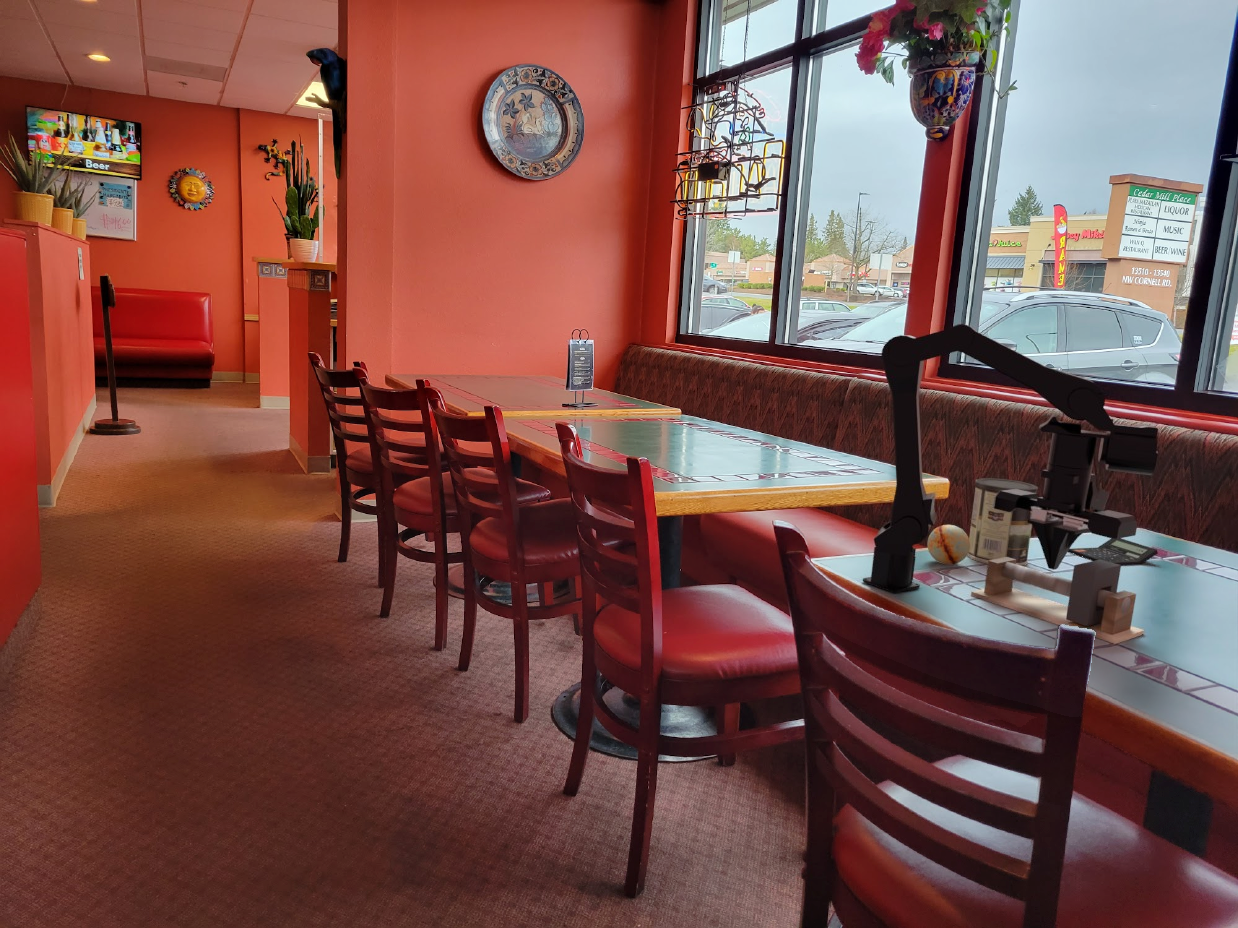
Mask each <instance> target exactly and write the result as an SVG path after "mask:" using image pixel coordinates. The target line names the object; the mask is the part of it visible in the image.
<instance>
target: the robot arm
mask: <svg viewBox="0 0 1238 928" xmlns="http://www.w3.org/2000/svg"><path fill="white" fill-rule="evenodd" d="M955 352H960V353H963V354H965V355H966V356H968V357H970V358H972V359H974V360H976V361H978V362H980V363H981V364H984V365H986V366H988V367H990V368H991V369H993V370H995V371H997V372H999V373H1001V374H1003V375H1005V376H1006V377H1008V378H1010V379H1012V380H1014V381H1017V382H1018V383H1020V384H1022V385H1024V386H1026V387H1027V388H1030V389H1031V390H1032V391H1034V392H1036V394H1038V395H1039V396H1040V397H1041V398H1042V399H1044V400H1045V401H1047V402H1048V403H1049V404H1051V405H1052V406H1053V407H1054V408H1055V409H1057V410H1058V411H1060V412H1061V413H1062V414H1064V415H1065V416H1066V417H1067V418H1070V419H1071V420H1074V421H1079V422H1084V421H1086V422H1088V423H1089V424H1090V425H1091V426H1093V427H1094V428H1095V429H1096V430H1098V431H1091V430H1084V429H1082V424H1081V423H1078V422H1070V421H1069V422H1068V421H1060V420H1058V419H1057V416H1056V415H1054V414H1053V415H1051V416H1050V418H1049V419H1048V420H1046V421H1045V422H1043V423H1041V424H1040V425H1039V426H1038V427H1039V428H1038V429H1039V431H1040V432H1042V433H1050V434H1051V433H1052V434H1051V435H1052V436H1051V441H1050V449H1049V454H1048V460H1047V461H1048V462H1047V467H1046V469H1042V470H1041V474H1040V477H1041V478H1044V486H1043V491H1042V496H1040V497H1039V496H1038V494H1037V493H1032V492H1028V491H1023V490H1019V489H1011V490H1002V491H999V492H998V493H997V494H996V496H995V497H994V504H993V508H994V509H998V510H1002V511H1006V512H1013V511H1014V510H1015V509H1017V508H1021V509H1025V510H1029V511H1031V517H1030V519H1027V523H1030V524H1032V528H1033V530H1034V533H1035V535H1036V536H1037V539H1038V541H1039V543H1040V546H1041V550H1042V552H1043V556H1044V559H1045V562H1046V565H1047V567H1048V569H1050V570H1055V571H1056V570H1058V569H1059V567H1060V565H1061V564H1062V561H1063V560H1064V558H1065V557H1066V555H1067V553H1069V552H1068V550H1069V549H1071V547H1072V545H1074V543H1075V542H1076V541H1077V539H1078V538H1079V537H1080V536H1082V535H1083V534H1085V533H1091V534H1093V535H1097V536H1101V537H1104V538H1107V539H1108V538H1109V539H1111V538H1114V539H1119V538H1121V539H1124V538H1129V537H1135V536H1136V534H1137V528H1138V522H1137V520H1136V517H1135V516H1134V514H1133V515H1131V514H1129V513H1124V512H1118V511H1116V510H1115V511H1114V510H1111V509H1110V510H1109V509H1107V510H1105V508H1106V505H1107V502H1108V499H1109V496H1110V493H1109V492H1108V491H1106V490H1104V489H1103V488H1102V487H1099V486H1097V485H1096V480H1097V478H1096V474H1095V473H1092V470H1093V463H1094V458H1095V452H1096V445H1097V441H1098V439H1100V444H1099V448H1098V458H1097V459H1098V462H1099V463H1104V465H1105V470H1106V471H1113V472H1122V473H1129V474H1138V475H1146V476H1147V475H1148V476H1153V474H1154V472H1155V469H1156V467H1157V466H1156V465H1157V462H1158V456H1159V451H1158V433H1159V428H1158V427H1157V426H1155V425H1154V426H1153V425H1130V424H1129V425H1128V424H1120V423H1114V418H1113V417H1112V416H1111V415H1109V414H1108V412H1107V411H1106V409H1105V408H1104V406H1105V405H1106V396H1105V393H1104V390H1103V388H1102V387H1101V386H1099V385H1098V384H1097V383H1096V382H1094V381H1092V380H1090V379H1088V378H1085V377H1082V376H1078V375H1076V374H1072V373H1069V372H1066V371H1063V370H1059V369H1055V368H1052V367H1049V366H1046V365H1043V364H1042V363H1039V362H1038V361H1035V360H1034V359H1032V358H1029V357H1028V356H1026V355H1024V354H1022V353H1020V352H1018V351H1015V350H1014V349H1012V348H1010V347H1009V346H1007V345H1004V344H1002V343H1000V342H998V341H996V340H994V338H991V337H989V336H987V335H984V334H982V333H981V332H979V331H977V330H976V329H974V328H973V327H972V326H971V325H968V324H966V323H959V324H956V325H952V327H950V328H946V329H943V330H940V331H937V332H932V333H929V334H925V335H921V336H918V337H915V336H912V335H910V334H909V335H908V334H907V335H906V334H903V335H901V334H900V335H897V336H893V337H891V338H890V339H889V340H887V342H886V343H885V344H884V345H883V348H882V350H881V354H880V355H881V361H882V365H883V370H884V374H885V378H886V382H887V384H888V387H889V390H890V394H891V397H892V400H891V401H892V417H893V436H894V437H893V438H894V460H895V481H896V485H895V486H896V487H895V490H894V491H895V492H894V498H893V503H892V507H891V516H890V521H888V522H887V523H886V524H884V525H882V527H881V528H880V529H879V531H878V532H877V534H876V535H875V537H874V539H873V541H874V542H873V543H874V545H875V546H874V548H873V557H872V566H871V575H870V576H869V577H863V578H862V582H863V583H866V584H869V585H871V586H874V587H877V588H880V589H882V590H884V591H888V592H891V593H895V594H896V593H901V592H906V591H910V590H915V589H920V585H921V584H919V583H916V582H914V575H915V572H914V571H915V564H916V550H917V548H916V547H914V546H915V545H918V544H920V543H922V542H923V541H924V540H926V538H927V537H928V535H929V532H930V530H931V527H933V526H935V522H936V521H937V517H938V516H937V513H936V512H935V499H936V492H931V493H927V491H926V488H925V484H924V481H923V465H922V464H923V463H922V442H921V439H922V438H921V419H920V418H921V416H920V397H919V396H920V388H921V383H922V377H923V371H924V366H925V365H924V364H925V361H927V360H931V359H934V358H938V357H941V356H945V355H949V354H952V353H955ZM1099 431H1100V432H1099ZM1101 431H1103V432H1101ZM1087 510H1089V511H1087ZM1092 511H1094V512H1092Z"/></svg>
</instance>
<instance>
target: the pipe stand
mask: <svg viewBox="0 0 1238 928" xmlns="http://www.w3.org/2000/svg"><path fill="white" fill-rule="evenodd" d="M1014 581H1016V582H1020V583H1022V584H1026V585H1029V586H1033V587H1036V588H1039V589H1042V590H1044V591H1049V592H1051V593H1055V594H1059V595H1062V596H1065V597H1069V596H1070V590H1071V583H1072V579H1068V578H1064V577H1061V576H1058V575H1054V574H1051V573H1048V572H1045V571H1040V570H1037V569H1033V568H1030V567H1027V566H1025V565H1024V566H1020V565H1017V564H1016V559H1013V558H1009V557H1004V558H999V559H994V560H989V561H988V564H987V567H986V575H985V582H984V588H982V589H976V590H973V591H971V593H970V596H972V597H975V598H979V599H981V600H983V601H986V602H990V603H993V604H996V605H998V606H1001V607H1005V608H1007V609H1011V610H1013V611H1015V612H1016V611H1017V612H1019V613H1022V614H1025V615H1028V616H1031V617H1034V618H1036V619H1040V620H1042V621H1046V622H1049V623H1051V624H1054V625H1058V626H1060V624H1065V625H1069V626H1078V627H1079V628H1087V629H1092V630H1094V631H1095V632H1096V637H1095V638H1096V639H1099V640H1102V641H1105V642H1108V643H1111V644H1114V645H1116V644H1118V643H1122V642H1125V641H1128V640H1132V639H1133V638H1137V637H1140V636H1143V635H1144V634H1145V630H1144V629H1142V628H1138V627H1136V626H1132V621H1133V616H1134V610H1135V603H1136V597H1137V593H1135V592H1131V591H1127V590H1122V591H1117V593H1113V592H1109V591H1106V590H1102V589H1099V594H1098V600H1097V606H1100V607H1104V613H1103V619H1102V622H1099V623H1096V624H1092V625H1089V626H1085V625H1082V624H1079V623H1076V622H1073V621H1070V620H1067V619H1066V616H1067V609H1068V605H1065V604H1062V603H1060V602H1057V601H1053V600H1050V599H1047V598H1044V597H1041V596H1038V595H1034V594H1031V593H1028V592H1026V591H1022V590H1019V589H1017V588H1013V585H1014ZM1142 634H1143V635H1142Z"/></svg>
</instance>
